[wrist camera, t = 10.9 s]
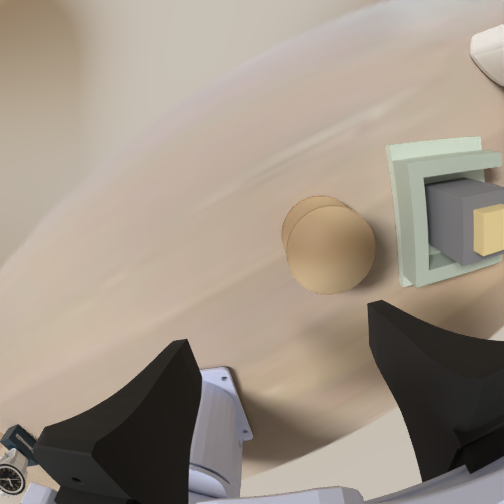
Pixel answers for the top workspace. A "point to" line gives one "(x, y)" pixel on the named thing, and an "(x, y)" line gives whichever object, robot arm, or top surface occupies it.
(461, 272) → the notched board
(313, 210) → the spool
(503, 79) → the eye dropper bottle
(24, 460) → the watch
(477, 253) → the plug
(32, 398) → the top surface
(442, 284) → the top surface
